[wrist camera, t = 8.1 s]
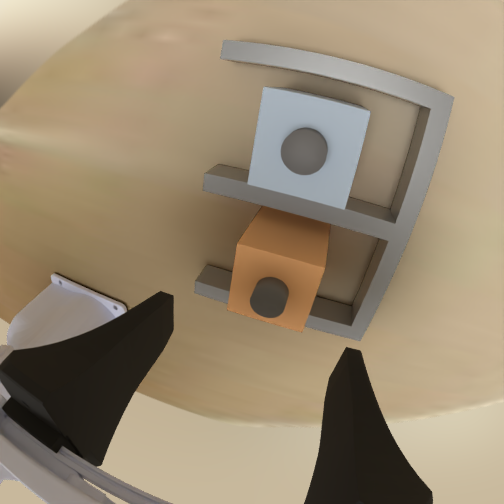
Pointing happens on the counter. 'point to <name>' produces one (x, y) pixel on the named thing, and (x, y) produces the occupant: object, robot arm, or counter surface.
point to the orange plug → (279, 268)
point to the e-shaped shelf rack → (356, 211)
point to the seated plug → (307, 145)
